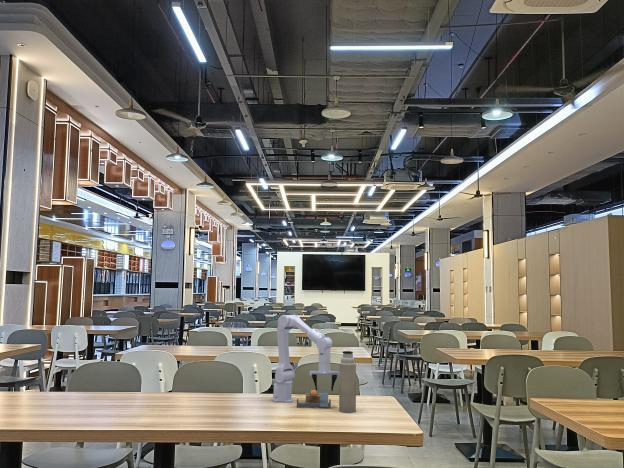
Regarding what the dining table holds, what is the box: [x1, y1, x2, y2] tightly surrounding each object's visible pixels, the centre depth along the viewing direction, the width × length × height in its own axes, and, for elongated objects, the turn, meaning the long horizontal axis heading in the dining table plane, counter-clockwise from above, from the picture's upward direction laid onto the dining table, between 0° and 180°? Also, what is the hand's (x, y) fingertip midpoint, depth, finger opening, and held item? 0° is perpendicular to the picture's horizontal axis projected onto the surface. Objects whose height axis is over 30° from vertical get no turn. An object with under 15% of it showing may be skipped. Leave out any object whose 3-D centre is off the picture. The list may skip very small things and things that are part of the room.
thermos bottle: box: [338, 350, 357, 414], centre depth 269 cm, size 8×8×28 cm
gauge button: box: [310, 389, 318, 395], centre depth 287 cm, size 3×3×4 cm
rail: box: [296, 398, 332, 409], centre depth 276 cm, size 17×3×4 cm, turn 90°
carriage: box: [319, 391, 329, 407], centre depth 276 cm, size 4×5×6 cm
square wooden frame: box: [305, 392, 320, 402], centre depth 287 cm, size 8×8×4 cm
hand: (324, 390), depth 276 cm, fingers open, 7 cm apart
